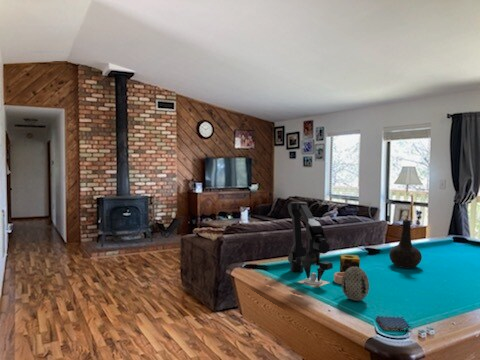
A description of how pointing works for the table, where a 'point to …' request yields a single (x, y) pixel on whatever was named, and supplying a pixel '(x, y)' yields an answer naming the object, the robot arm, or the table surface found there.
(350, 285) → the decorative egg
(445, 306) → the table surface
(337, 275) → the bowl
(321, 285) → the mat
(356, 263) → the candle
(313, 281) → the lid
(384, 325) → the woven mat
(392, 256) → the dark brown vase
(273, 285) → the table surface
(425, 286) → the table surface
